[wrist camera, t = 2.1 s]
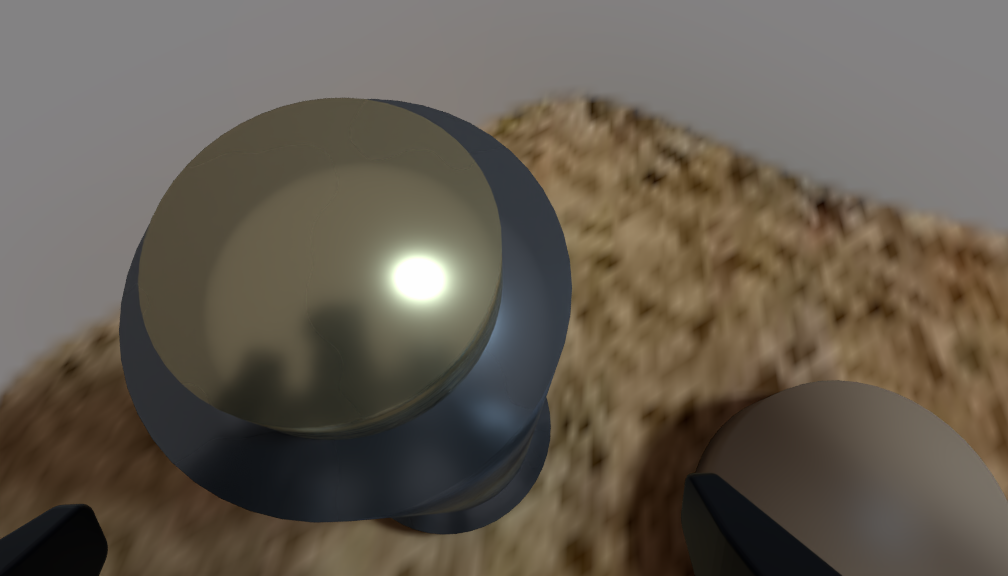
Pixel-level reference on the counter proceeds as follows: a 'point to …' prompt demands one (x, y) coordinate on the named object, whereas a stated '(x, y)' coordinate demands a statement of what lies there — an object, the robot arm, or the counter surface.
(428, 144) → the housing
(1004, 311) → the counter surface
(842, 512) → the stand
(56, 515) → the robot arm
